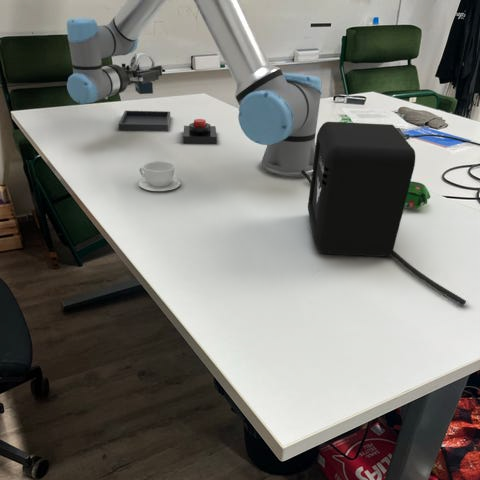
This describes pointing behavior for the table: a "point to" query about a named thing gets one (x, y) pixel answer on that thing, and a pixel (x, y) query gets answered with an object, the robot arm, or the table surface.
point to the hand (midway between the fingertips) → (149, 69)
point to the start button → (199, 122)
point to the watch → (140, 88)
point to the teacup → (158, 176)
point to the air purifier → (359, 188)
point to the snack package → (416, 195)
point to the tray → (145, 121)
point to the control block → (199, 134)
